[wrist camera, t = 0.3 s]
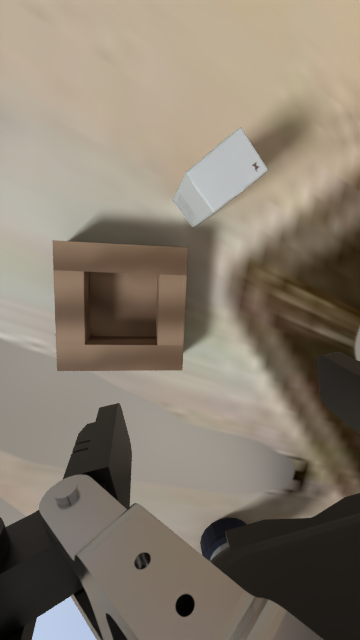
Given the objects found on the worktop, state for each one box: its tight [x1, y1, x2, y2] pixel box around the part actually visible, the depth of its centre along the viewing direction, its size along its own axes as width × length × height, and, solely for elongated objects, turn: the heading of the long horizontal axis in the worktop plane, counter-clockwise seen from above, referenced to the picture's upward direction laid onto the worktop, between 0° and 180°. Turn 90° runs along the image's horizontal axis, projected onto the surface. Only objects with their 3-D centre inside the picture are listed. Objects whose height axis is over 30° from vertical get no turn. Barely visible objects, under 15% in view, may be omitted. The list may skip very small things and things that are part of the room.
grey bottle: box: [200, 518, 246, 561], centre depth 34 cm, size 8×8×25 cm
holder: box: [53, 241, 188, 371], centre depth 35 cm, size 14×14×5 cm
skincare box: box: [173, 128, 268, 228], centre depth 30 cm, size 6×4×12 cm
